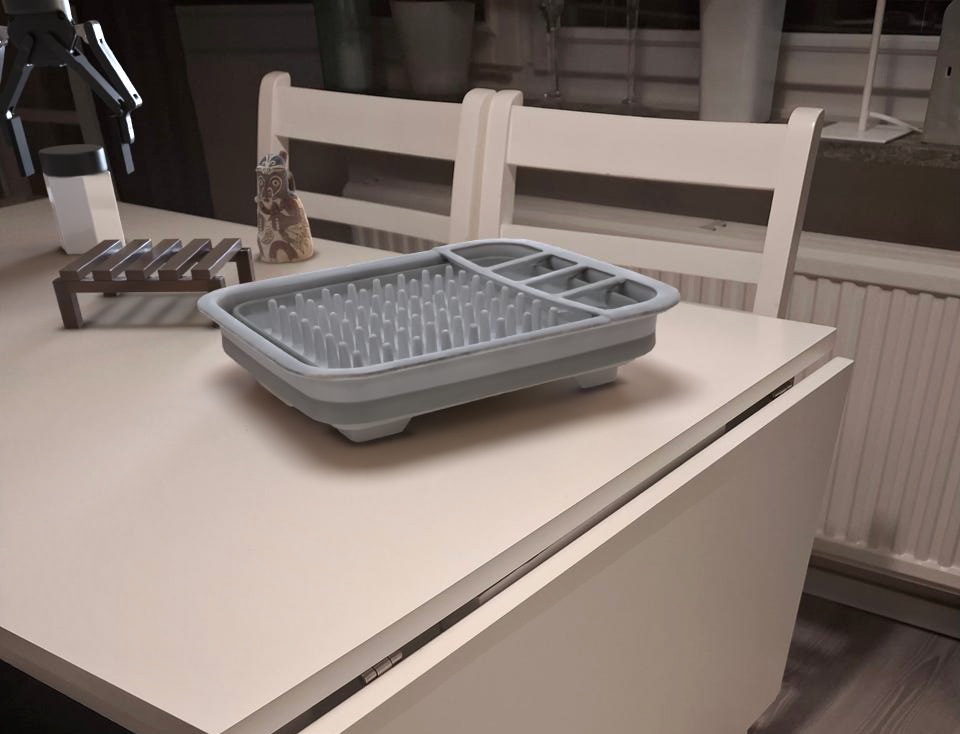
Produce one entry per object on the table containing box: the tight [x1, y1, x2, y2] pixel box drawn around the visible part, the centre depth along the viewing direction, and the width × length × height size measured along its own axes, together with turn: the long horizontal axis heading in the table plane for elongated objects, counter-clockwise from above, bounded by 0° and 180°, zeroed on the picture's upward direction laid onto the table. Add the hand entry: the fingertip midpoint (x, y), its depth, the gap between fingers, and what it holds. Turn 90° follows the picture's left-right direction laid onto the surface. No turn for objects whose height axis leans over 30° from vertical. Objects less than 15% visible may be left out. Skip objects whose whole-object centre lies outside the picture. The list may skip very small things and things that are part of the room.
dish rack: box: [196, 238, 682, 443], centre depth 92 cm, size 32×37×8 cm
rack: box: [52, 237, 257, 330], centre depth 112 cm, size 18×14×6 cm
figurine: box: [254, 150, 314, 264], centre depth 128 cm, size 7×7×12 cm
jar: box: [38, 143, 127, 255], centre depth 134 cm, size 9×8×12 cm
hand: (78, 174), depth 133 cm, fingers open, 13 cm apart
